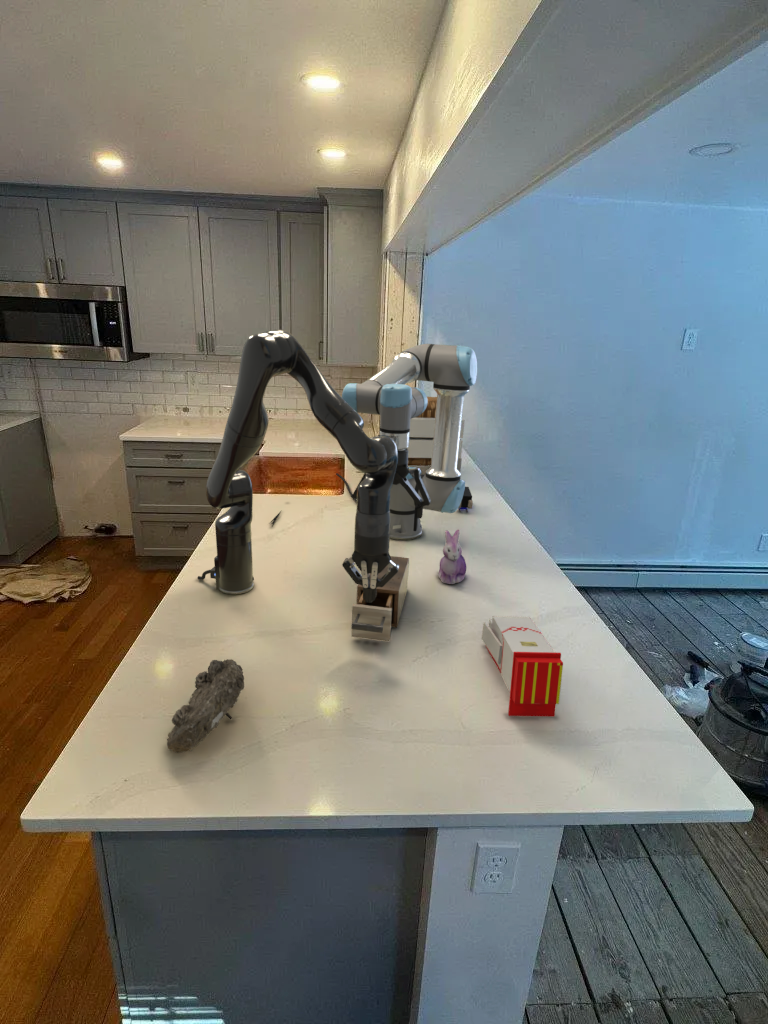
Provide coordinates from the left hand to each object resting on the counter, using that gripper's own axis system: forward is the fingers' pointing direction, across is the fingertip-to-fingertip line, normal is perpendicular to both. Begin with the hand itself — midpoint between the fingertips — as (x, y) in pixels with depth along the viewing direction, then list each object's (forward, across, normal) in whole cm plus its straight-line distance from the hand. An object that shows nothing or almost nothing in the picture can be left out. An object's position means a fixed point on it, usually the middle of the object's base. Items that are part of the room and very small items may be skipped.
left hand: (369, 601), depth 127 cm
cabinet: (+13, 0, +21) cm, 25 cm away
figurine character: (+13, +18, +107) cm, 109 cm away
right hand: (-8, 0, +27) cm, 28 cm away
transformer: (+13, -4, +154) cm, 154 cm away
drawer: (+12, 0, +10) cm, 15 cm away
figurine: (+13, +17, +43) cm, 48 cm away
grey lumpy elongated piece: (+13, -25, -29) cm, 40 cm away
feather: (+13, -49, +80) cm, 95 cm away
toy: (+13, +33, -2) cm, 36 cm away
